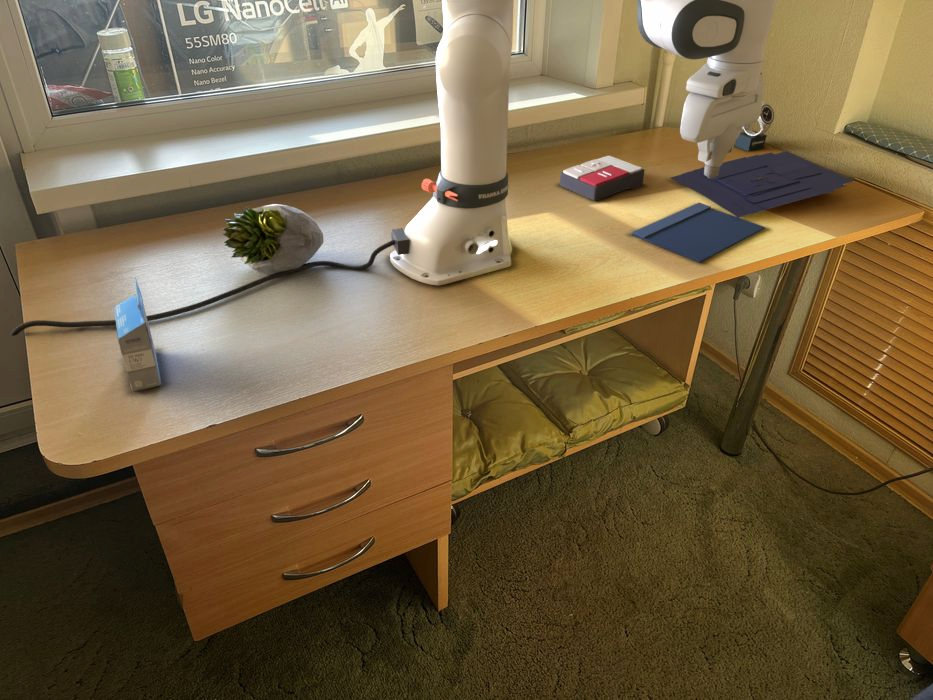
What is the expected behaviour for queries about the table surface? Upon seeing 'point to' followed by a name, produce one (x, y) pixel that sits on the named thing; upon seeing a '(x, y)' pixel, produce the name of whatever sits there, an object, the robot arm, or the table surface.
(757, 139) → the watch
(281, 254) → the potted plant
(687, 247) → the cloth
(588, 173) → the button panel
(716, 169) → the lightbulb
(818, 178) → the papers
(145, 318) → the label tape box
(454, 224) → the robot arm
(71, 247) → the table surface
